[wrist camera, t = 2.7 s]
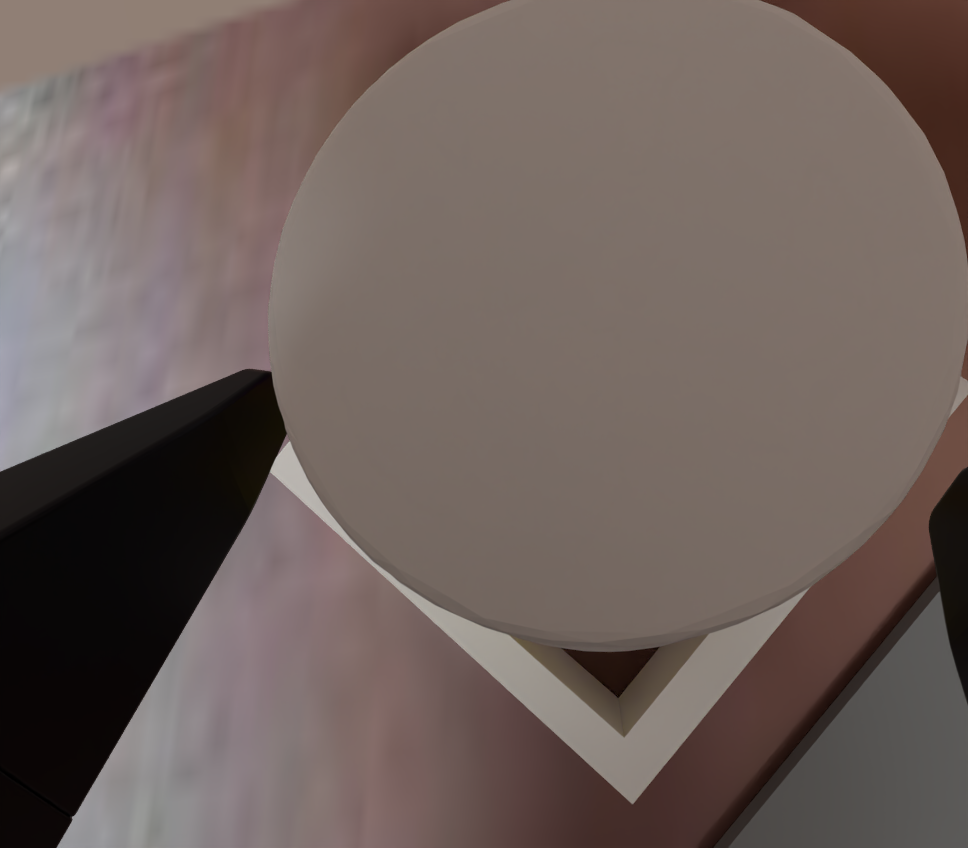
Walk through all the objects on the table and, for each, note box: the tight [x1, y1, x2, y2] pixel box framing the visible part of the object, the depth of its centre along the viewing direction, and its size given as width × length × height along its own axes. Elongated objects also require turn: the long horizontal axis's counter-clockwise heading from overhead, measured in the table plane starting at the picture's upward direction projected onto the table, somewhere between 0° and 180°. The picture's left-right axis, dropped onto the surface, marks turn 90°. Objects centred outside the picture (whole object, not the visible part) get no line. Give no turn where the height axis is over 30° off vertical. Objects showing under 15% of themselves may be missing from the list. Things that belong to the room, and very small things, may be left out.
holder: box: [270, 377, 968, 804], centre depth 15 cm, size 12×12×2 cm
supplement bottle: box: [268, 0, 968, 652], centre depth 10 cm, size 7×7×13 cm
